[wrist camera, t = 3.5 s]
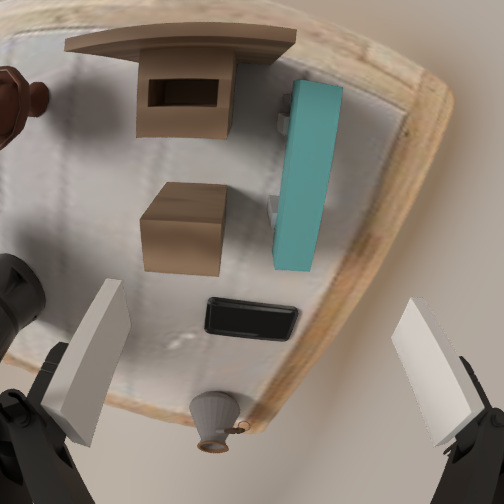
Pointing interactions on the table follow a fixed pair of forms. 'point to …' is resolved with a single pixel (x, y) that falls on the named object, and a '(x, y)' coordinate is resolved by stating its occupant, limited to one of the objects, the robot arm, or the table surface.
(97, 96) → the table surface
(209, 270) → the block
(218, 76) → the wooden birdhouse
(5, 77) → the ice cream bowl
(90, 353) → the robot arm
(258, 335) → the phone
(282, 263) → the teal rail
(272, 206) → the grey stand
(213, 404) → the coffee pot
